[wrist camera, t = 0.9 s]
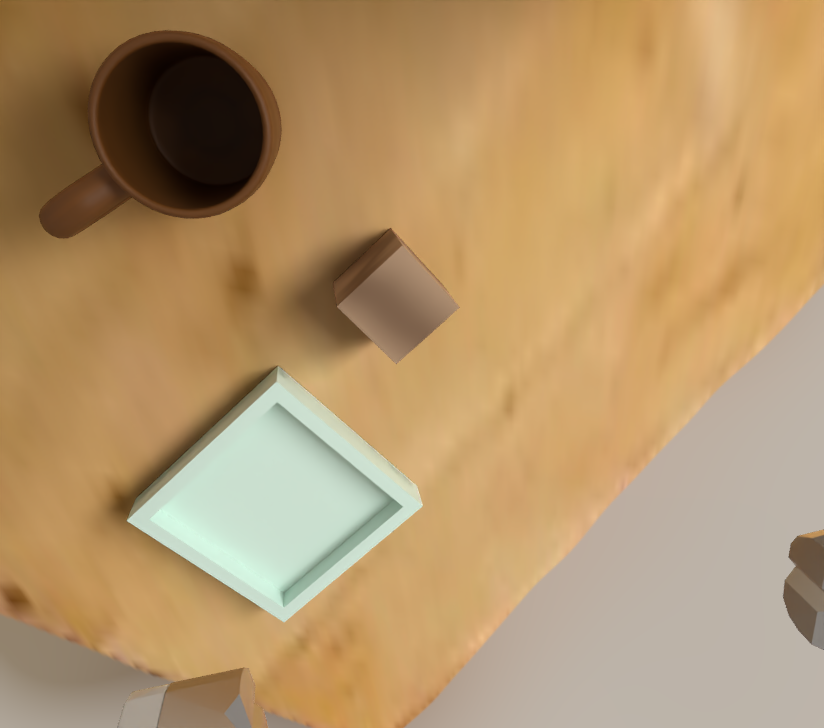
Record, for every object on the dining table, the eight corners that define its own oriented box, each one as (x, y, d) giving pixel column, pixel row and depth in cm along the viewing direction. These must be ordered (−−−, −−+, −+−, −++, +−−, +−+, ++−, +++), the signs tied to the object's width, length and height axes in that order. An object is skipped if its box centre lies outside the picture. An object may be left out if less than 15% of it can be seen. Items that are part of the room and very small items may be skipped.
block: (390, 227, 38) (402, 245, 33) (441, 283, 40) (459, 307, 35) (332, 282, 38) (336, 306, 34) (386, 334, 40) (396, 364, 36)
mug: (143, 260, 36) (93, 309, 27) (44, 145, 33) (-48, 161, 24) (309, 145, 35) (311, 159, 26) (224, 15, 32) (194, -17, 23)
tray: (278, 365, 40) (276, 381, 38) (416, 485, 45) (422, 505, 43) (136, 498, 42) (126, 520, 40) (285, 597, 48) (284, 622, 45)
